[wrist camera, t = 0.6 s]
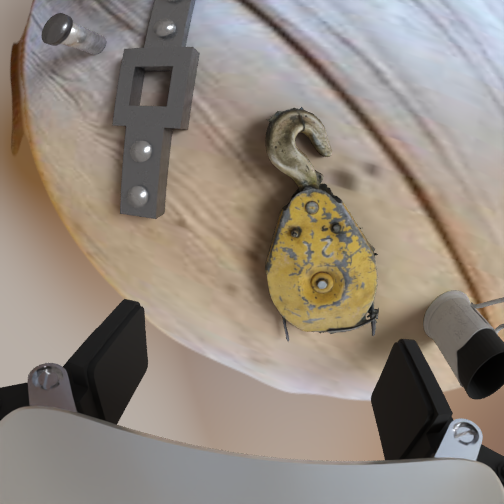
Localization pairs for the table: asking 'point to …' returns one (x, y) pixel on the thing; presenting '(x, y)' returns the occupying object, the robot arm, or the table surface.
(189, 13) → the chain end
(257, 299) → the table surface
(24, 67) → the table surface
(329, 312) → the pulley block
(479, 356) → the grey black mug
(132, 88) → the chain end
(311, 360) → the table surface
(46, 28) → the steel pin
